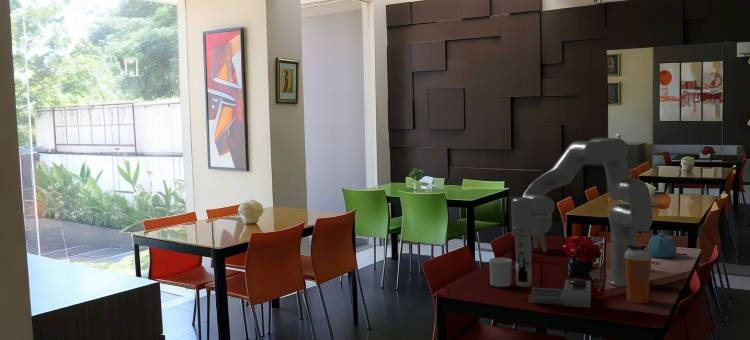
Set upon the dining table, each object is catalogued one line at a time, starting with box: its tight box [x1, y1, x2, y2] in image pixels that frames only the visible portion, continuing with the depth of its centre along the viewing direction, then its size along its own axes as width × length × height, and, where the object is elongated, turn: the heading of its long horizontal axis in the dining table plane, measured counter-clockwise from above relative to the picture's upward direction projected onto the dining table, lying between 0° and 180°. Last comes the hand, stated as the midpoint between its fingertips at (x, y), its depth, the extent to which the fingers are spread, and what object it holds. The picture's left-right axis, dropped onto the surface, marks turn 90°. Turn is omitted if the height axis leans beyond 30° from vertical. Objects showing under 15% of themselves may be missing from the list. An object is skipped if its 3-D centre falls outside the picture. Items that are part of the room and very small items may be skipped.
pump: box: [511, 261, 533, 287], centre depth 242 cm, size 7×6×9 cm
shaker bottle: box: [625, 244, 652, 304], centre depth 235 cm, size 9×9×20 cm
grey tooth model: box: [532, 213, 553, 253], centre depth 322 cm, size 16×16×22 cm
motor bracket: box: [528, 278, 592, 309], centre depth 240 cm, size 21×17×8 cm
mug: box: [488, 257, 513, 289], centre depth 261 cm, size 11×9×10 cm
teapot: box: [646, 232, 678, 259], centre depth 303 cm, size 13×11×18 cm
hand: (523, 278), depth 242 cm, fingers closed on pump, 5 cm apart
